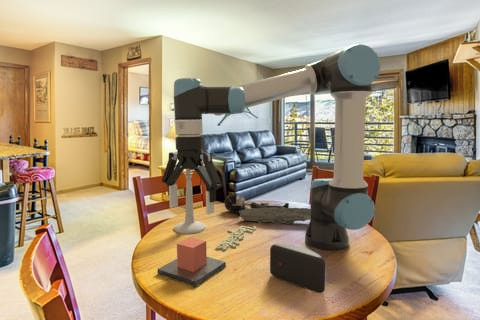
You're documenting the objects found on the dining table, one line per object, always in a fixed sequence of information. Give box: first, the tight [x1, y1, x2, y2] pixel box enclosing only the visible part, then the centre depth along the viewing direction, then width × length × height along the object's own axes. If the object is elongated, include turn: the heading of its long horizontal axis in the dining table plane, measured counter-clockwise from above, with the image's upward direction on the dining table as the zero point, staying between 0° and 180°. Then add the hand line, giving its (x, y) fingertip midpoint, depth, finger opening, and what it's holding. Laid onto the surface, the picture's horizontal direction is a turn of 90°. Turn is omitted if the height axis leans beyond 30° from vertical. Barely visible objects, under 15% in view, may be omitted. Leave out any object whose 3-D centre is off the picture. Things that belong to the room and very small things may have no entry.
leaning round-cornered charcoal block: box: [269, 243, 326, 294], centre depth 86 cm, size 16×5×9 cm, turn 51°
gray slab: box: [157, 256, 227, 288], centre depth 93 cm, size 14×14×6 cm
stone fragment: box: [238, 207, 311, 225], centre depth 137 cm, size 31×9×5 cm
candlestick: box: [173, 169, 207, 235], centre depth 129 cm, size 13×13×30 cm
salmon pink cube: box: [176, 236, 208, 272], centre depth 93 cm, size 6×6×7 cm
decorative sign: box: [215, 225, 257, 252], centre depth 120 cm, size 26×1×10 cm
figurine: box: [223, 193, 290, 213], centre depth 151 cm, size 20×9×30 cm
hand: (191, 210), depth 92 cm, fingers open, 13 cm apart
